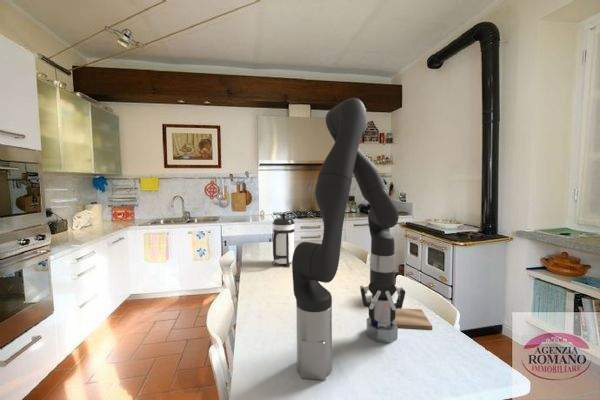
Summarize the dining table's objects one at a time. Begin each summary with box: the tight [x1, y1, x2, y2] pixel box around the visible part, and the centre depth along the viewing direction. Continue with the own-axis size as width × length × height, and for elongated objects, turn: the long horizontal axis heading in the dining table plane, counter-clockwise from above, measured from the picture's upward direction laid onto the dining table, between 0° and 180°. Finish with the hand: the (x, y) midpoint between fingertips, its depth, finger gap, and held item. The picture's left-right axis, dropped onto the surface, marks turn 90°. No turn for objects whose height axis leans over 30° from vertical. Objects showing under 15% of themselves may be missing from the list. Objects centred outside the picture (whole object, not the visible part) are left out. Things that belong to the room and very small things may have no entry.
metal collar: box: [365, 317, 399, 344], centre depth 89 cm, size 9×9×4 cm
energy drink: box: [373, 300, 391, 328], centre depth 88 cm, size 5×5×12 cm
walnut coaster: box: [395, 307, 433, 330], centre depth 98 cm, size 12×12×1 cm
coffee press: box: [271, 213, 295, 268], centre depth 162 cm, size 17×16×30 cm
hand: (381, 319), depth 88 cm, fingers closed on energy drink, 5 cm apart
